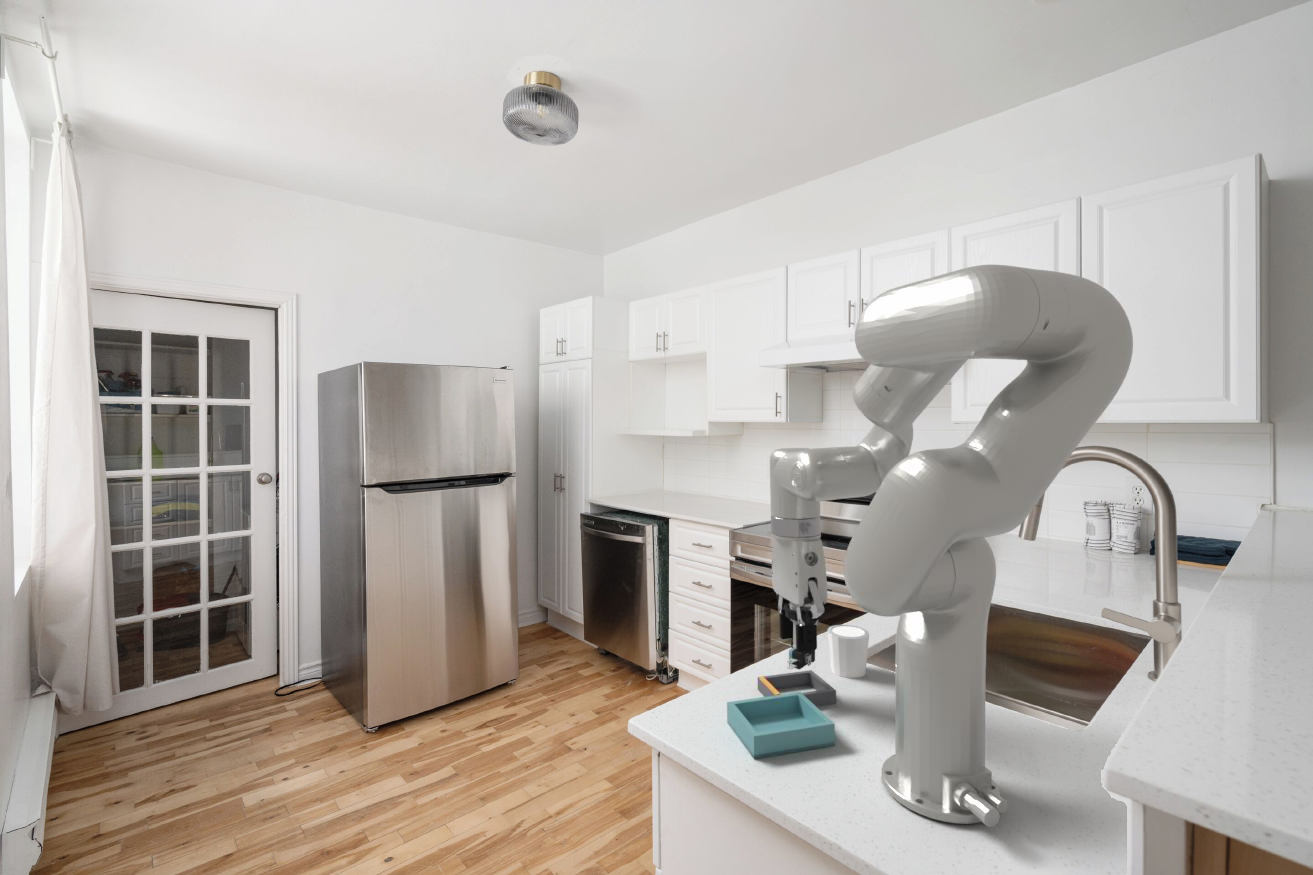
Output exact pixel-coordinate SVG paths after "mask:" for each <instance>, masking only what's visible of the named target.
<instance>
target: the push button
mask: <svg viewBox="0 0 1313 875" xmlns="http://www.w3.org/2000/svg"><path fill="white" fill-rule="evenodd" d="M804 602H805V603H810V601H809V599H807V600H804ZM784 610H785V616H786V617H787V618H789V619H790V620H791V621H792V622H793V638H790V648H789V651H788V660H787V663H788V666H787V669H789V670H793V669H797V670H801V669H803V668H804V667H806V666H808V667H809V666H811V665H812V663H815V661H816V650H810V651H803V652H799V651H798V650H797V649H796V625H797V624H798V617H797V610H796V605H795V604H794V603H792V602H789V603H786V604H785V605H784ZM809 610H810V607H809V608H803V612H804V614H805V613H806V611H809Z"/></svg>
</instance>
